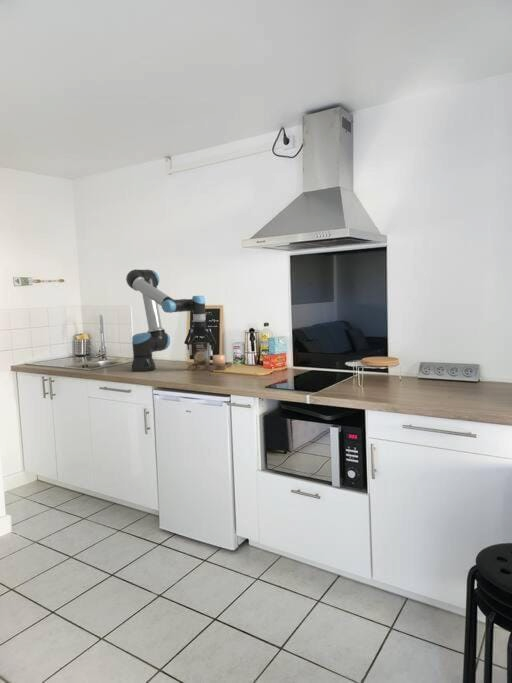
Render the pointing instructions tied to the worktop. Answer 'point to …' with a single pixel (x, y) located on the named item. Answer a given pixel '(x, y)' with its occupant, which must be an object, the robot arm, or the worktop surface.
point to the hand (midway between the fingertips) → (200, 355)
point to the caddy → (210, 367)
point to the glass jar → (201, 353)
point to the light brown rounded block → (218, 360)
